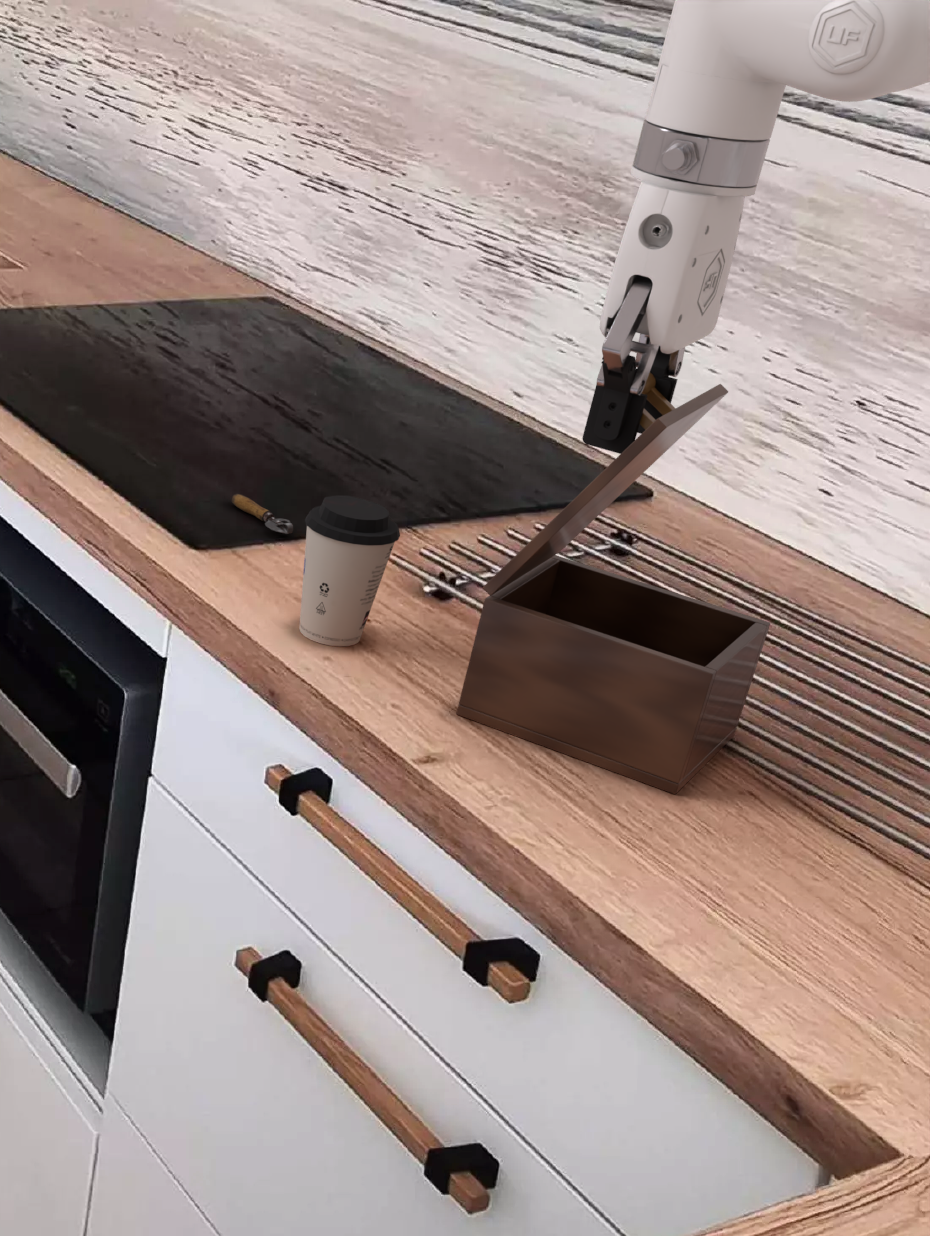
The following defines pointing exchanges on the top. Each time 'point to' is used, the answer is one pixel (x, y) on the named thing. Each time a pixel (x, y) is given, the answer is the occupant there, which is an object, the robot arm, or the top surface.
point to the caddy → (611, 671)
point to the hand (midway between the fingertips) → (622, 436)
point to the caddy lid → (610, 480)
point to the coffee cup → (343, 567)
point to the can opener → (262, 514)
